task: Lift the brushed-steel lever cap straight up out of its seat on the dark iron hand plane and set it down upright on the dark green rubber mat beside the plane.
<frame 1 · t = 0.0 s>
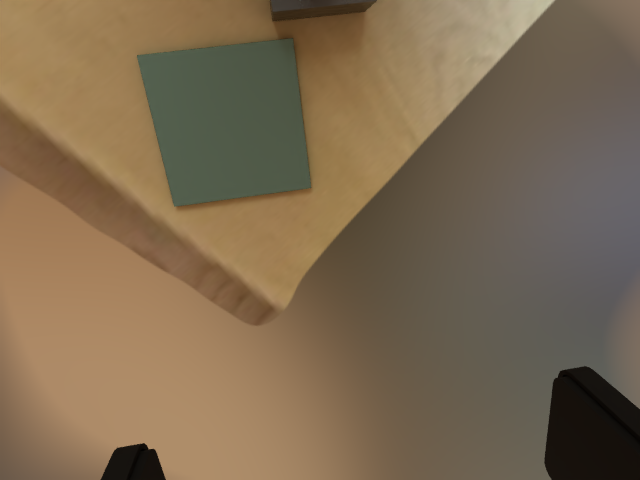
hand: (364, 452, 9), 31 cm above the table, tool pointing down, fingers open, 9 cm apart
rubber mat: (231, 126, 36), on the table
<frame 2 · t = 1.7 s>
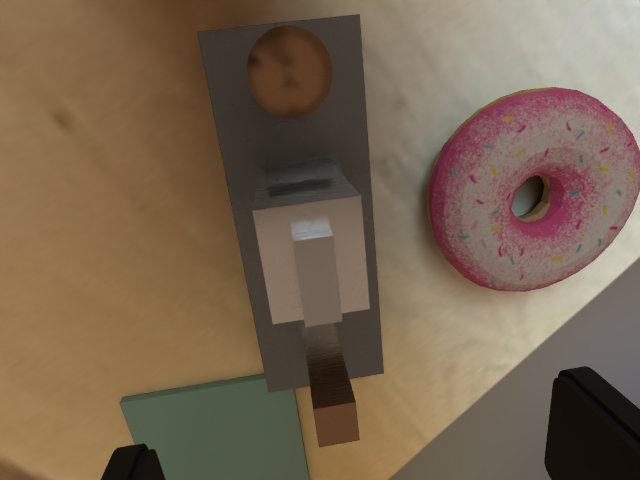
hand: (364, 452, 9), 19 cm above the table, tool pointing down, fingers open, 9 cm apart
rubber mat: (224, 445, 33), on the table
donut: (505, 186, 29), on the table
lever cap: (307, 232, 23), point 4 cm above the table, touching plane body
plane body: (302, 213, 27), on the table
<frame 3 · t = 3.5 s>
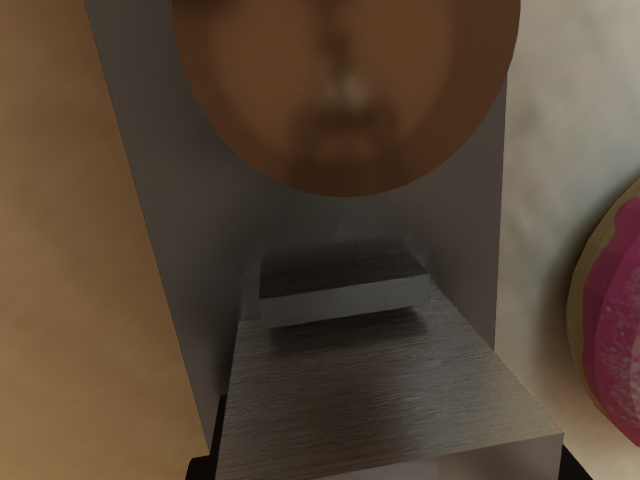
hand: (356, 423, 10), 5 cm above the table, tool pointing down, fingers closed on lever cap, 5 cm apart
lever cap: (351, 402, 11), point 4 cm above the table, touching gripper, plane body
plane body: (331, 323, 15), on the table
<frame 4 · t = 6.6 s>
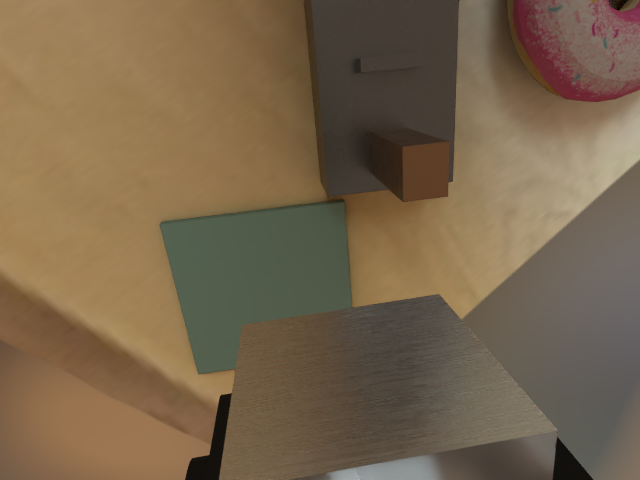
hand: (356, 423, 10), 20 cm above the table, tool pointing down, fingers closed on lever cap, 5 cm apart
rubber mat: (266, 289, 31), on the table
lever cap: (352, 405, 11), point 19 cm above the table, touching gripper
plane body: (368, 0, 25), on the table
when the fingers open (3 cm above the table, at t = 9.6 s): lever cap drops 1 cm, resting on rubber mat.
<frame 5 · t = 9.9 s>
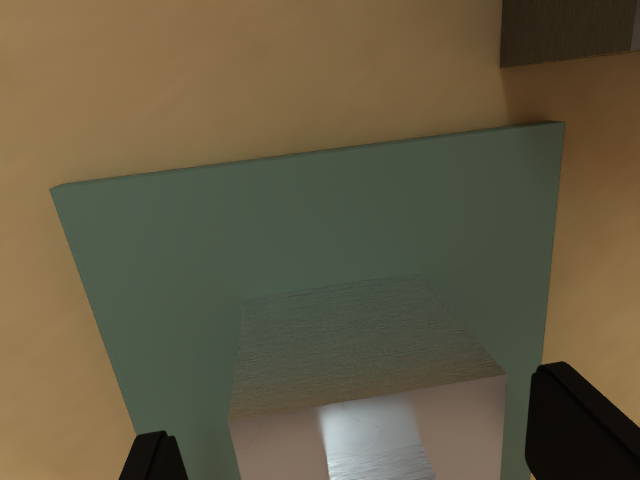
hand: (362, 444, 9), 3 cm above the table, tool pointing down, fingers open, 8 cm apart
rubber mat: (339, 356, 13), on the table
lever cap: (343, 371, 12), point 1 cm above the table, touching rubber mat
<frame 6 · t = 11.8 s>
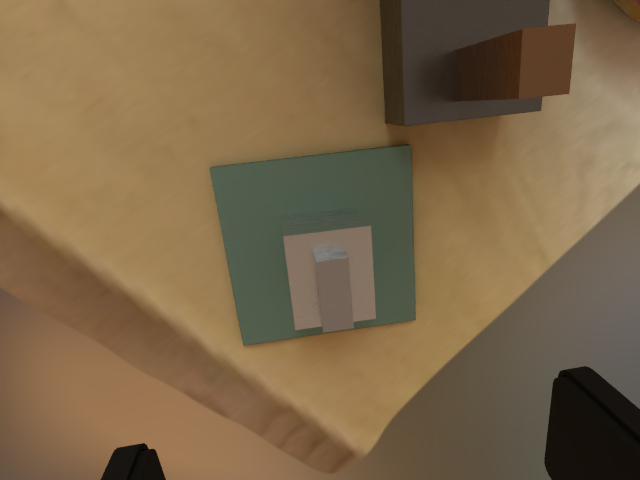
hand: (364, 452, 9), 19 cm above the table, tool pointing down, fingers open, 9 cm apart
rubber mat: (321, 248, 28), on the table
lever cap: (322, 253, 28), point 1 cm above the table, touching rubber mat
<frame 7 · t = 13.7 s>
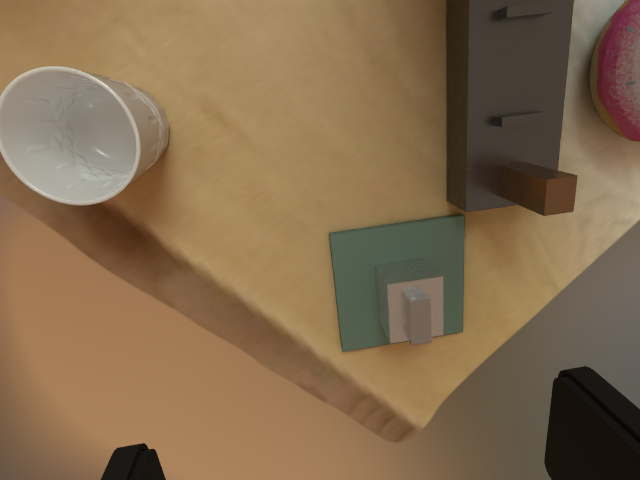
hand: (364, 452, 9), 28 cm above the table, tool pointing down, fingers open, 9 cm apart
rubber mat: (399, 284, 40), on the table
lever cap: (400, 288, 40), point 1 cm above the table, touching rubber mat
white cup: (128, 127, 33), on the table
plane body: (491, 71, 34), on the table
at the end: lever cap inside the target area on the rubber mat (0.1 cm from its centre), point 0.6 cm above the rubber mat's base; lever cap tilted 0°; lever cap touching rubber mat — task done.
